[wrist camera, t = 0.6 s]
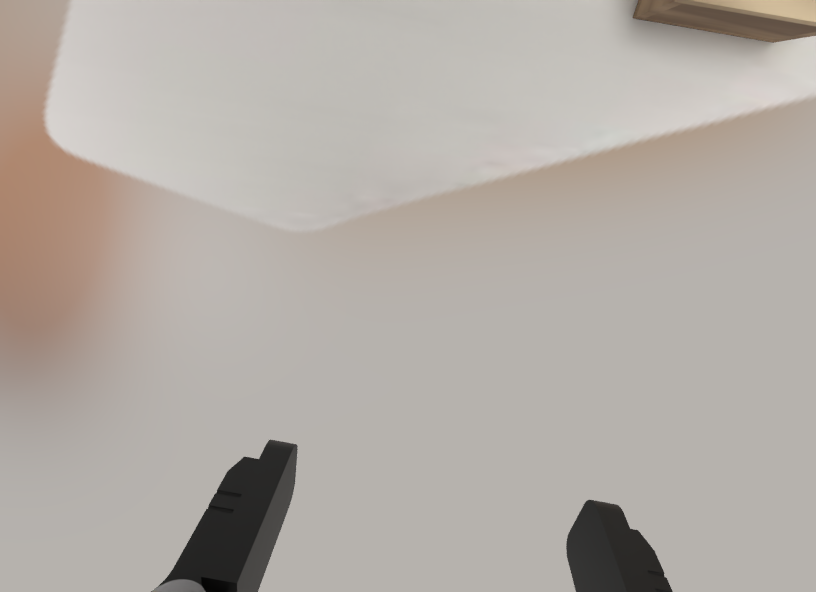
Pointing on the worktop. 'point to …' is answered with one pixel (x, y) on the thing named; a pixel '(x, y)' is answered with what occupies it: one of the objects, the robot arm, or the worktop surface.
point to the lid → (765, 8)
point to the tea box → (721, 21)
